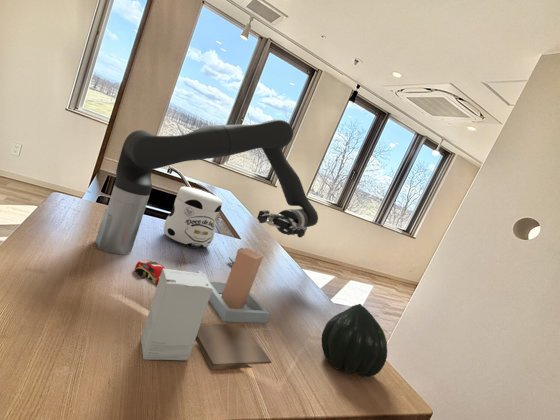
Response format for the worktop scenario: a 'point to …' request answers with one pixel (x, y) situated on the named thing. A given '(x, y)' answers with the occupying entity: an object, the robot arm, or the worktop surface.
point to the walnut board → (229, 346)
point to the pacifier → (232, 259)
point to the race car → (149, 270)
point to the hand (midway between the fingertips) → (274, 225)
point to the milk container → (193, 218)
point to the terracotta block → (241, 278)
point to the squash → (355, 342)
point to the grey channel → (247, 313)
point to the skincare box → (175, 315)
